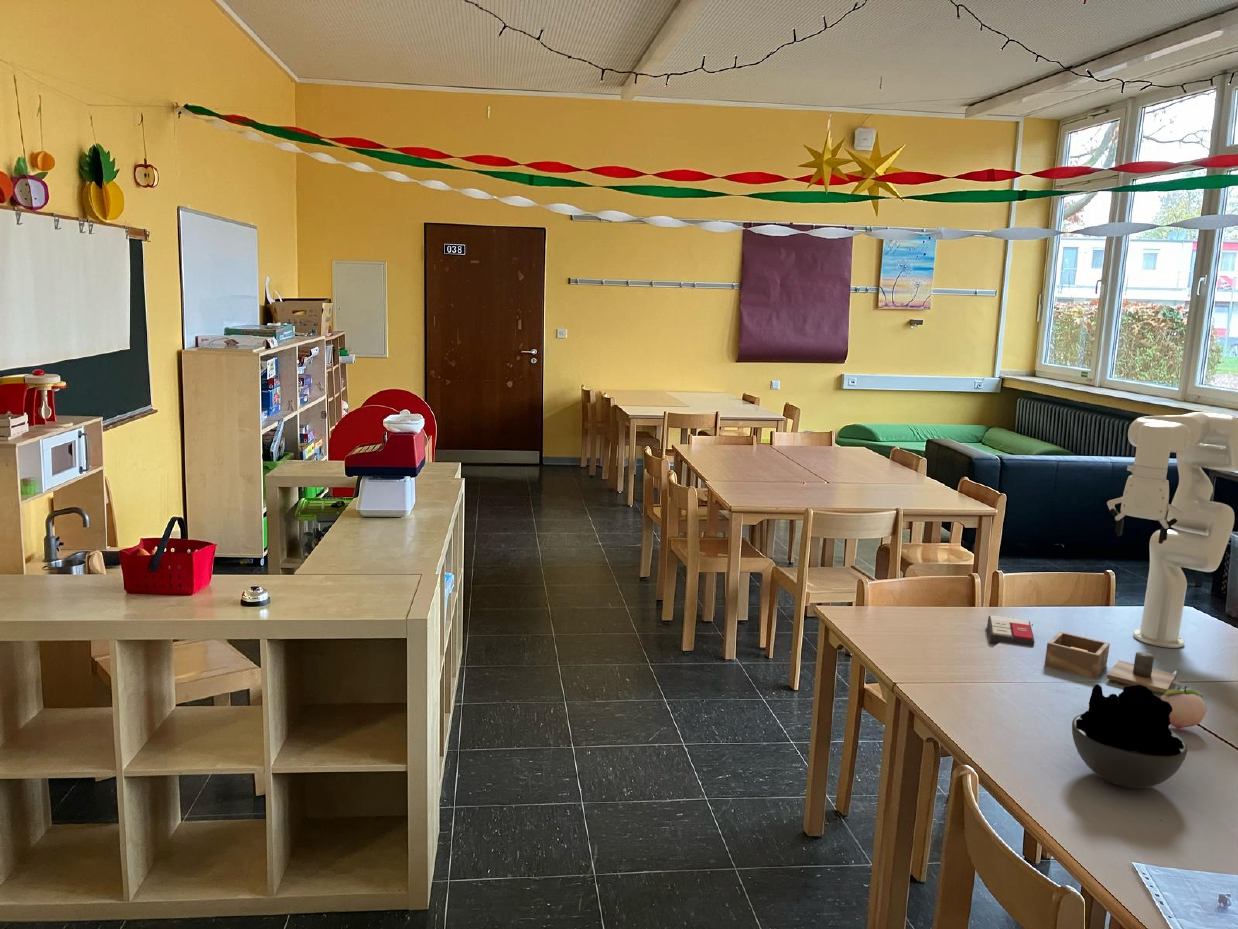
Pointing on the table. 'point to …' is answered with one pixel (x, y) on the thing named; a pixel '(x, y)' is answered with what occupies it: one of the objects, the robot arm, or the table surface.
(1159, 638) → the robot arm
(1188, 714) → the decorative fruit
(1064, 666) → the storage box
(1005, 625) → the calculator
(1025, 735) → the table surface
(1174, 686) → the mat
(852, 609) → the table surface
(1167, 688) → the lid
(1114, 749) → the coal bowl
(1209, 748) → the table surface
